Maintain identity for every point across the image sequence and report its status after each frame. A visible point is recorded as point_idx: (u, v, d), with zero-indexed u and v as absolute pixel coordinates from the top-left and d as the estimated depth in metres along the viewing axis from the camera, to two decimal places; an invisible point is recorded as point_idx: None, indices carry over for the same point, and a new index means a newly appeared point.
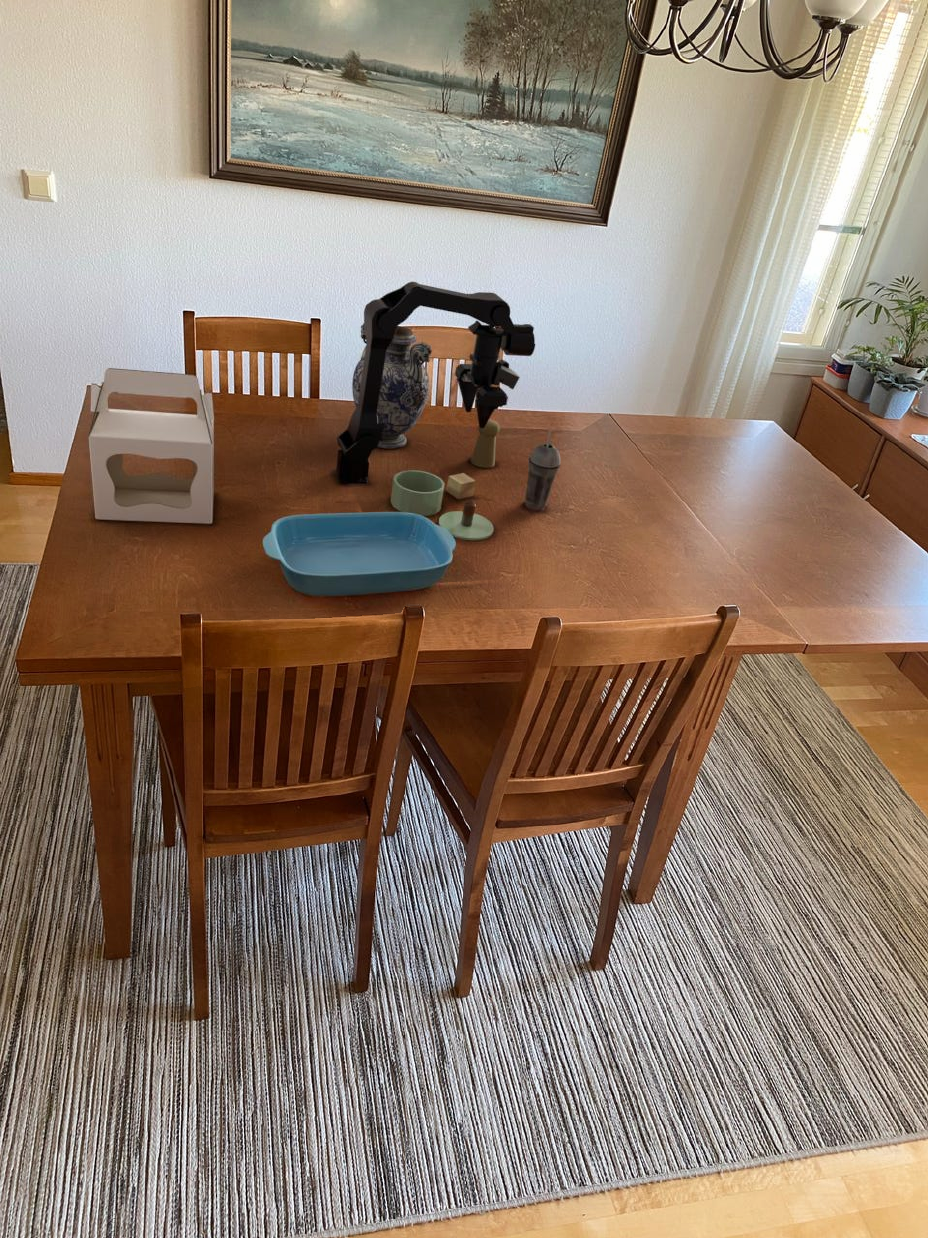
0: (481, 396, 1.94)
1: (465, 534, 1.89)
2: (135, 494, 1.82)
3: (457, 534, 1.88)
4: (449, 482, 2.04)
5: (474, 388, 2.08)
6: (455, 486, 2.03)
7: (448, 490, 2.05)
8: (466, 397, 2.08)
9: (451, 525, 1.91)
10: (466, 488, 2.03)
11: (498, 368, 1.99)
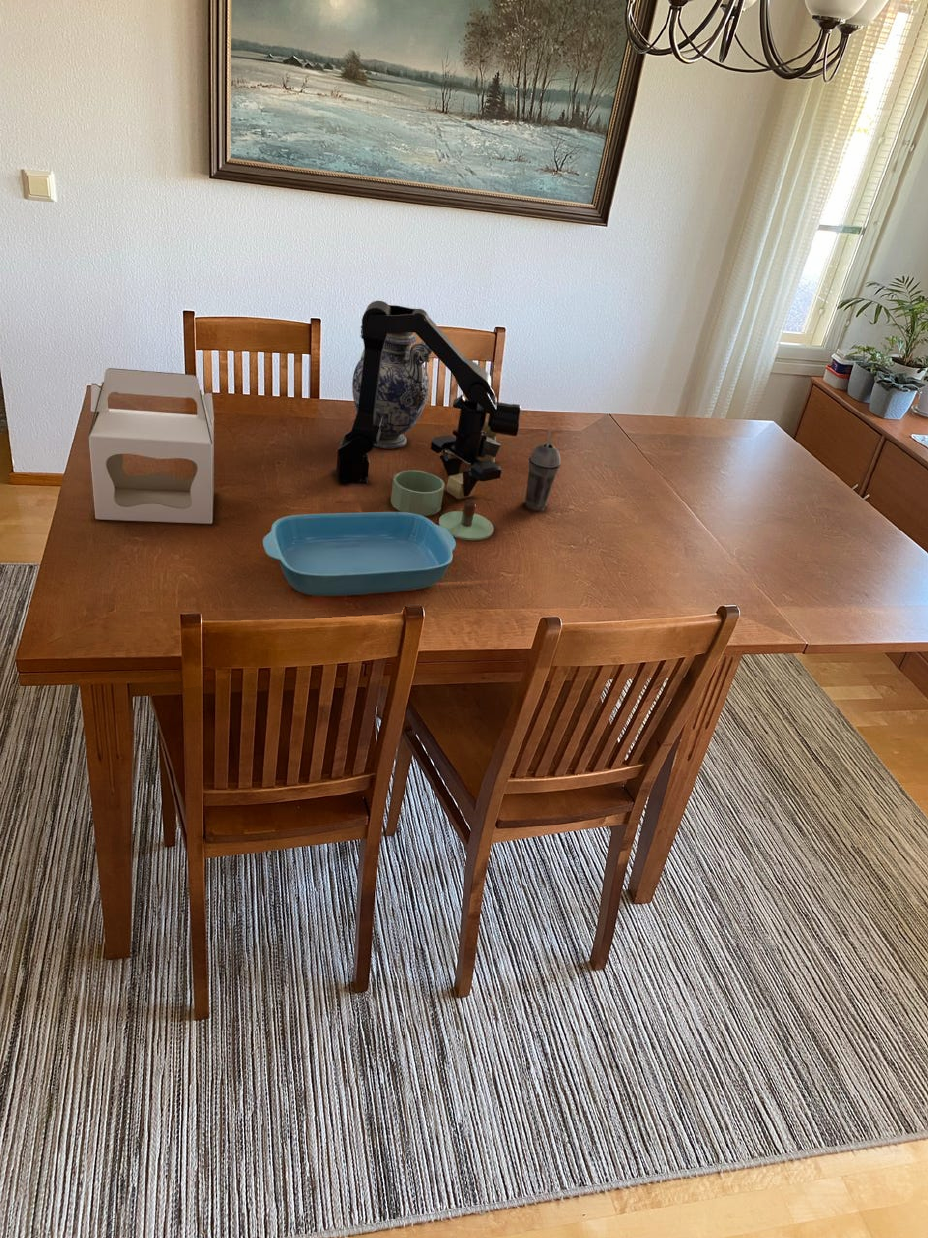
0: (480, 473, 1.94)
1: (465, 534, 1.89)
2: (135, 494, 1.82)
3: (457, 534, 1.88)
4: (449, 482, 2.04)
5: (458, 464, 2.04)
6: (455, 486, 2.03)
7: (448, 490, 2.05)
8: (452, 474, 2.04)
9: (451, 525, 1.91)
10: None
11: (484, 441, 1.98)
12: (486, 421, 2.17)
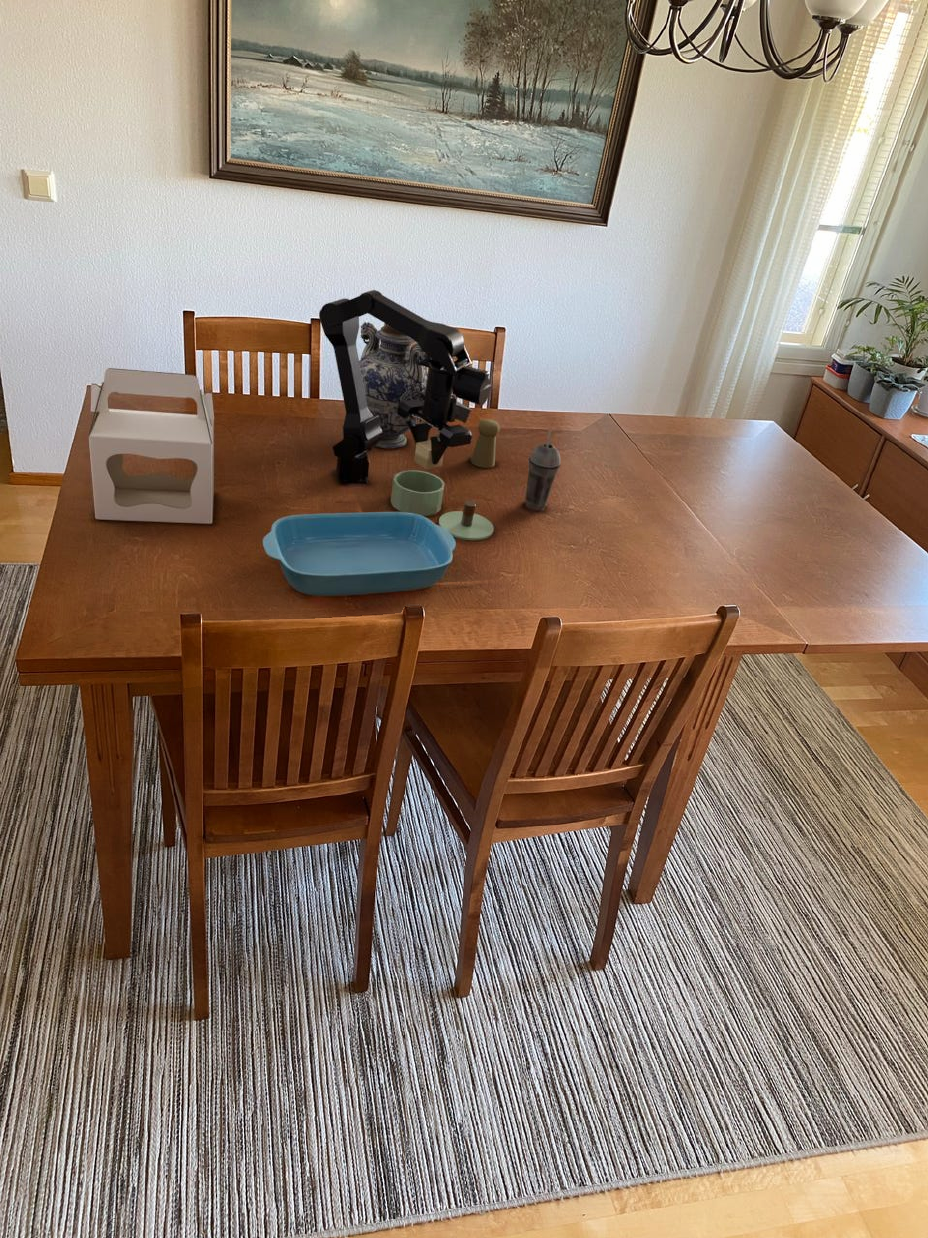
0: (449, 438, 1.82)
1: (465, 534, 1.89)
2: (135, 494, 1.82)
3: (457, 534, 1.88)
4: (417, 449, 1.92)
5: (426, 430, 1.92)
6: (423, 453, 1.91)
7: (416, 458, 1.93)
8: (420, 440, 1.92)
9: (451, 525, 1.91)
10: None
11: (453, 404, 1.86)
12: (486, 421, 2.17)
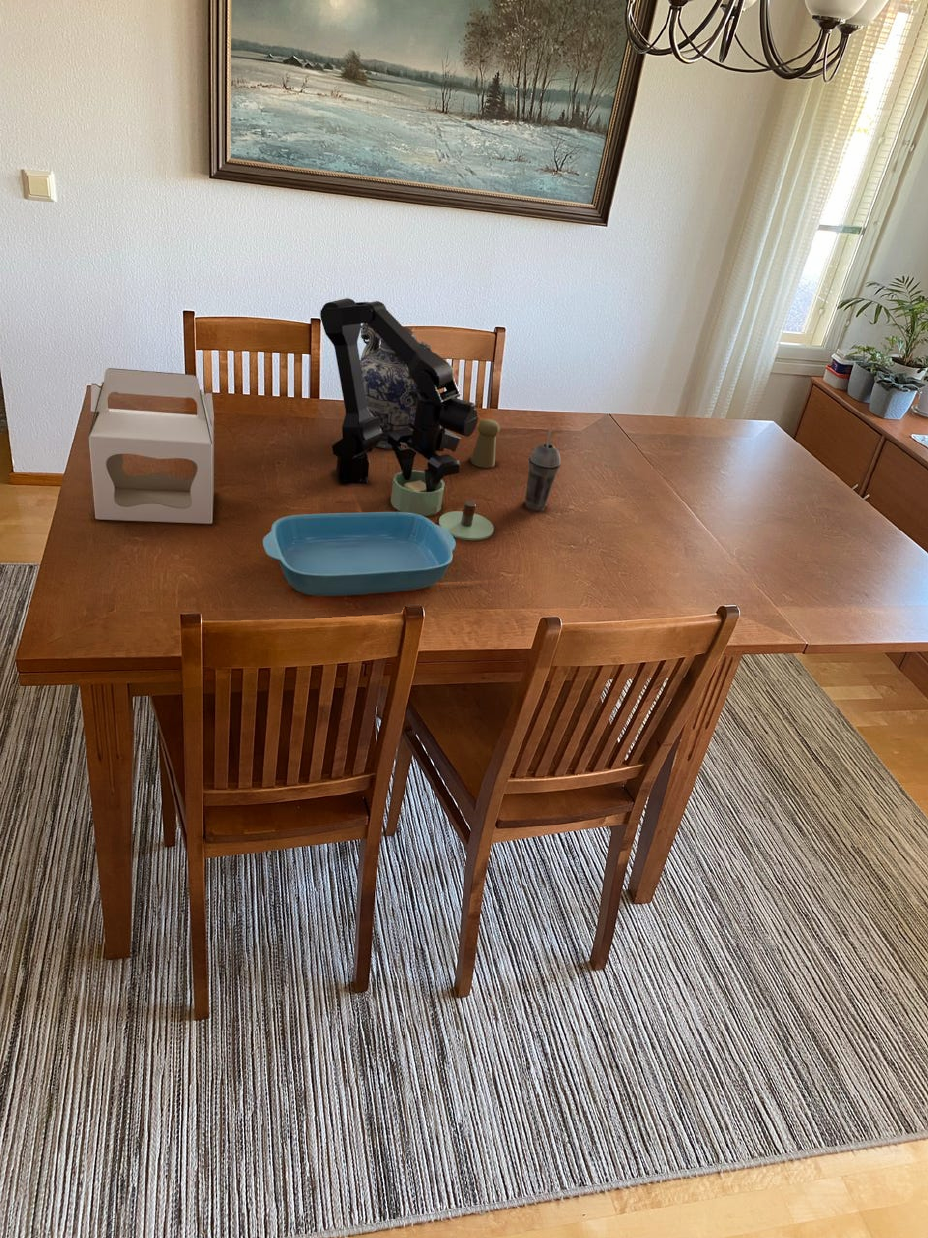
0: (436, 468, 1.84)
1: (465, 534, 1.89)
2: (135, 494, 1.82)
3: (457, 534, 1.88)
4: None
5: (411, 455, 1.96)
6: None
7: None
8: (405, 465, 1.96)
9: (451, 525, 1.91)
10: None
11: (442, 434, 1.89)
12: (486, 421, 2.17)
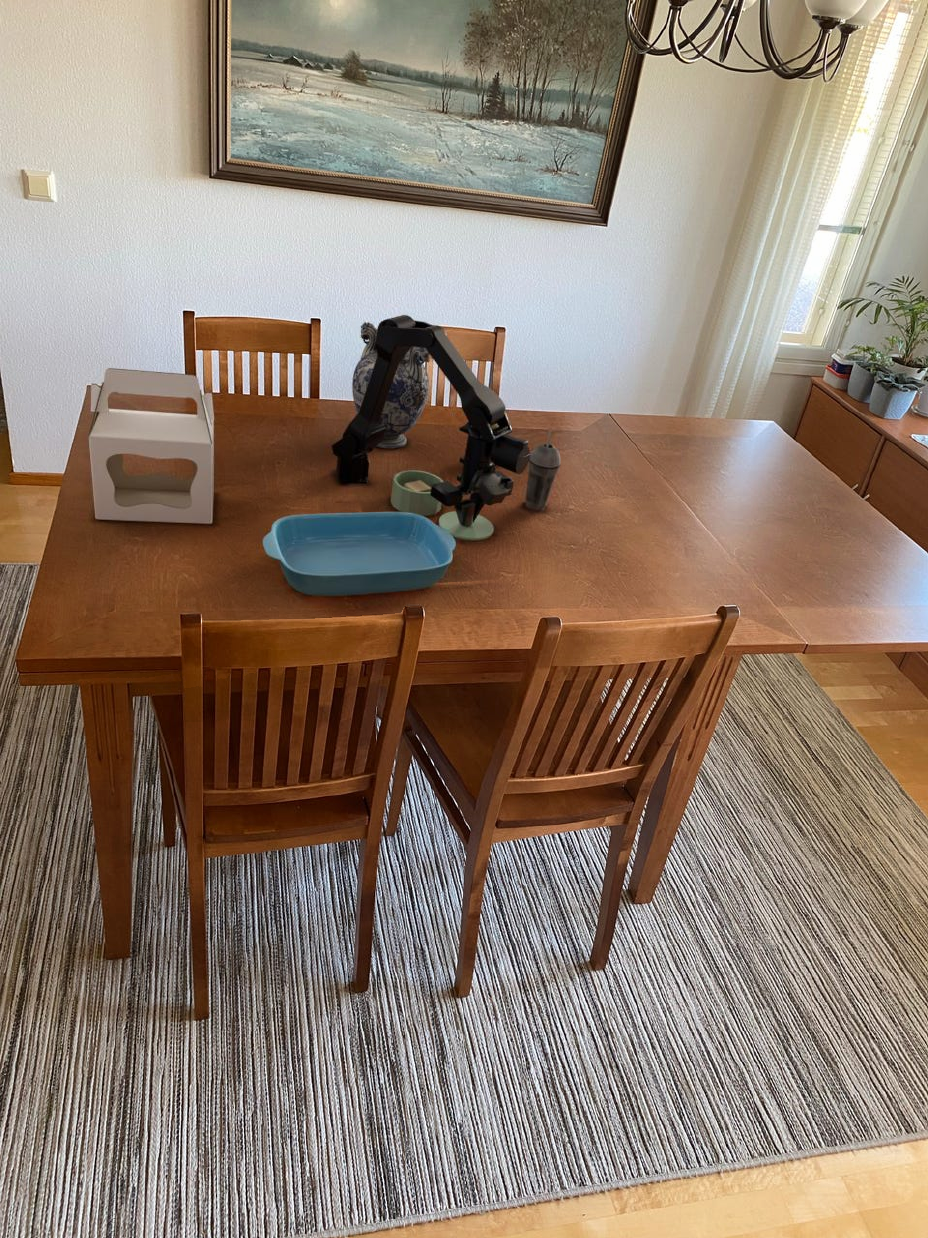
0: None
1: (465, 534, 1.89)
2: (135, 494, 1.82)
3: (457, 534, 1.88)
4: None
5: (478, 499, 1.90)
6: None
7: None
8: None
9: (451, 525, 1.91)
10: None
11: (475, 474, 1.82)
12: None
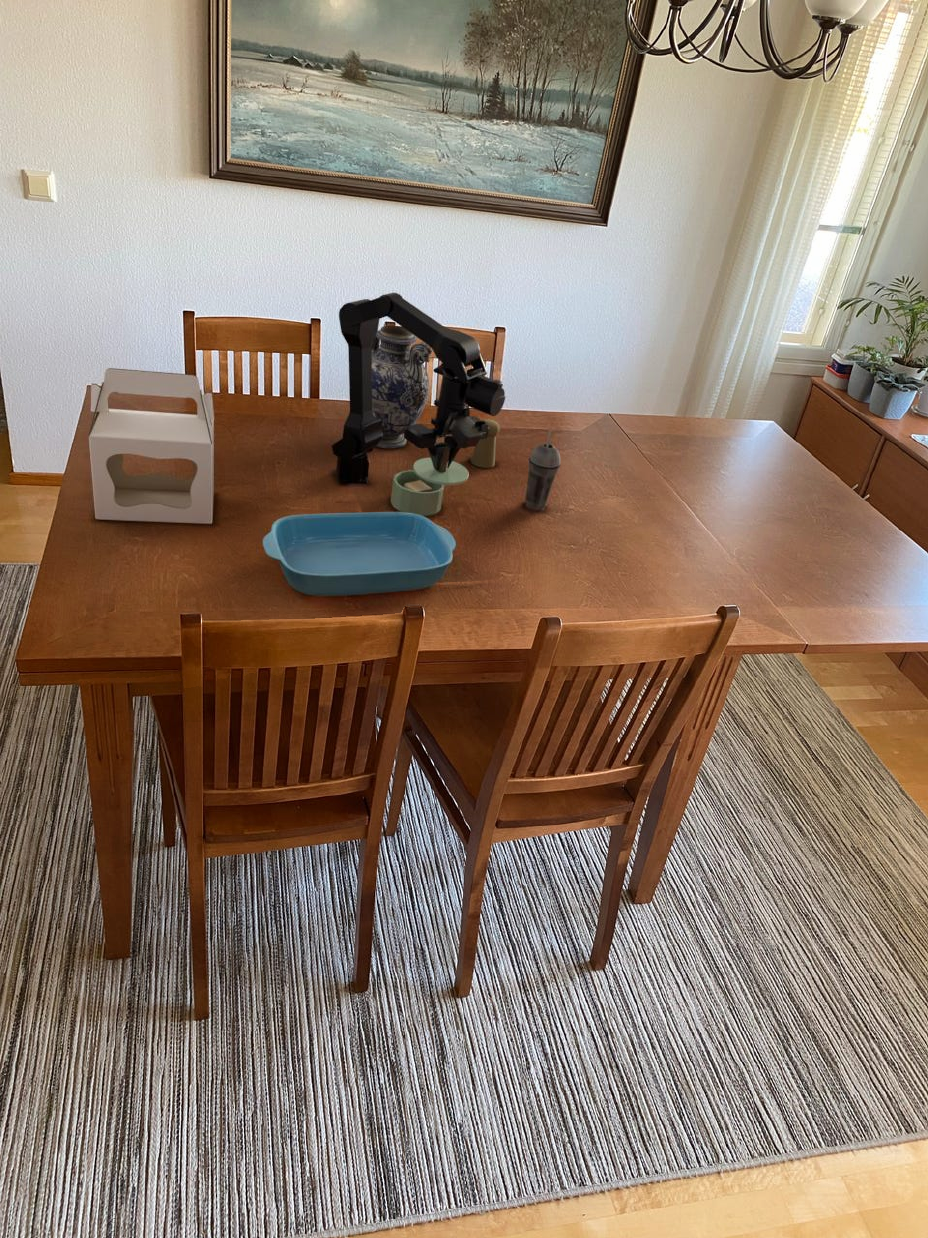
0: None
1: (440, 478, 1.87)
2: (135, 494, 1.82)
3: (431, 478, 1.86)
4: None
5: (453, 444, 1.88)
6: None
7: None
8: None
9: (425, 470, 1.89)
10: None
11: (449, 416, 1.80)
12: (486, 421, 2.17)
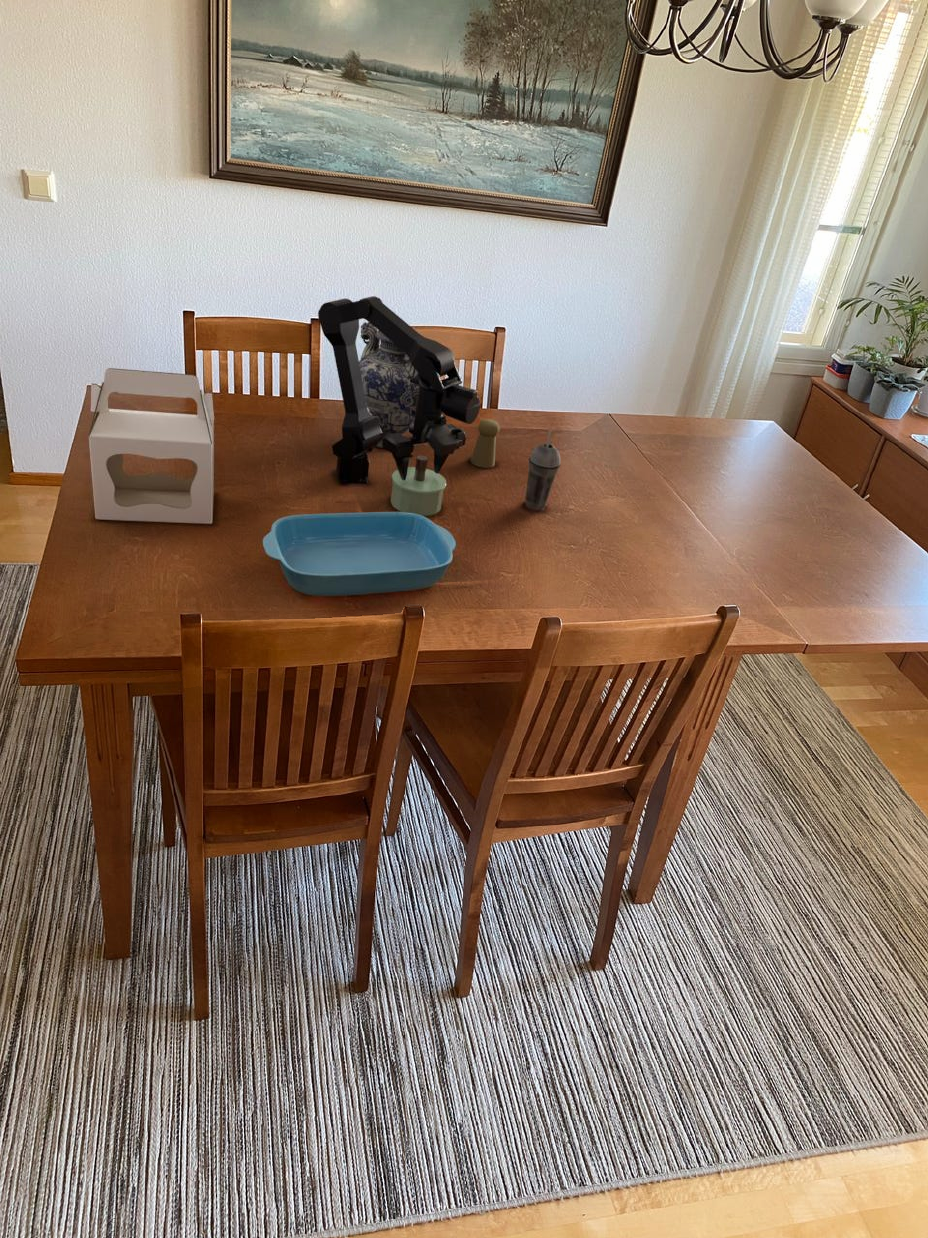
0: None
1: (417, 487, 1.91)
2: (135, 494, 1.82)
3: (409, 487, 1.90)
4: None
5: None
6: None
7: None
8: (436, 456, 1.96)
9: None
10: None
11: (426, 425, 1.84)
12: (486, 421, 2.17)
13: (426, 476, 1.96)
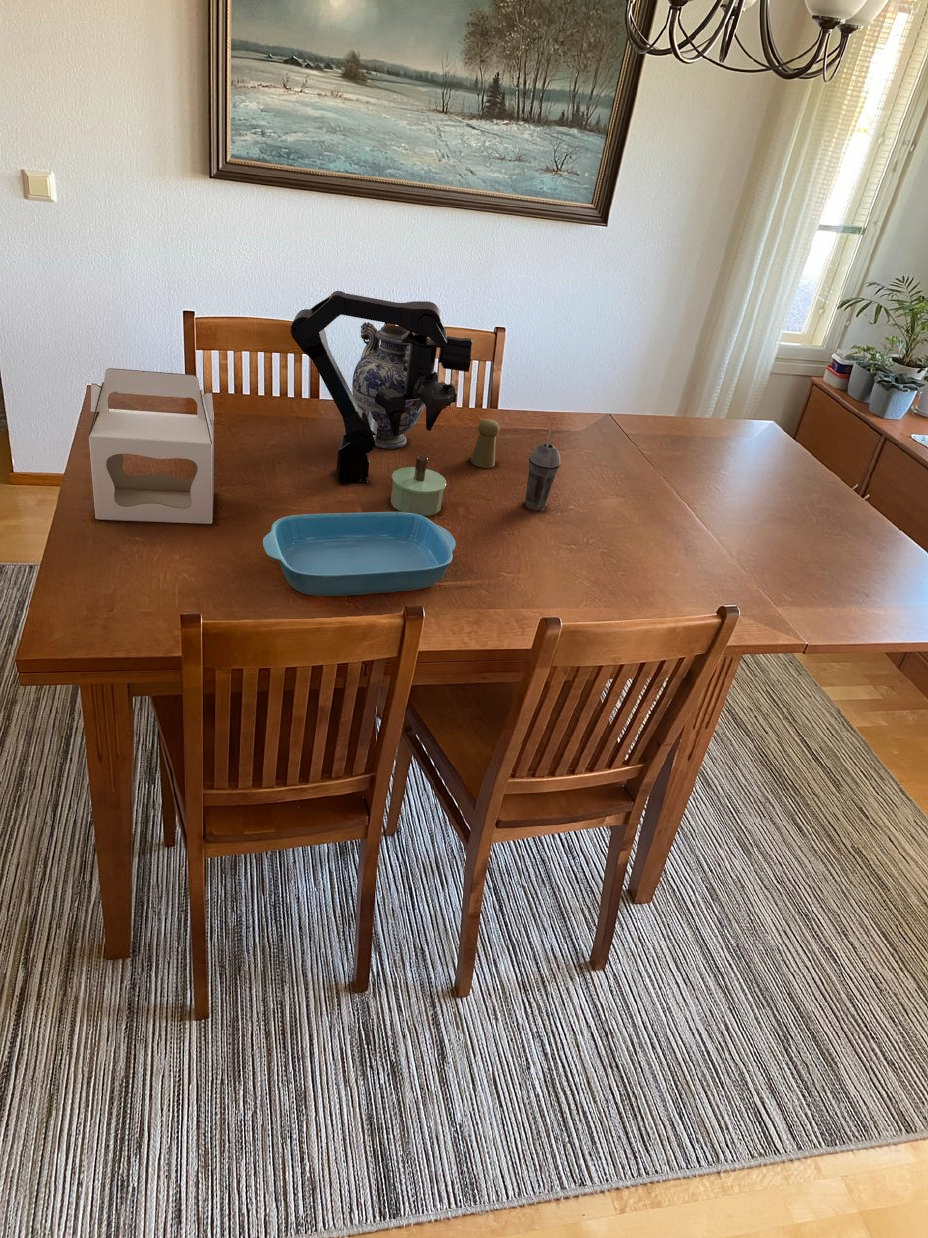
0: None
1: (417, 487, 1.91)
2: (135, 494, 1.82)
3: (409, 487, 1.90)
4: None
5: None
6: None
7: None
8: (427, 413, 2.00)
9: (404, 479, 1.93)
10: None
11: (417, 380, 1.89)
12: (486, 421, 2.17)
13: (426, 476, 1.96)
